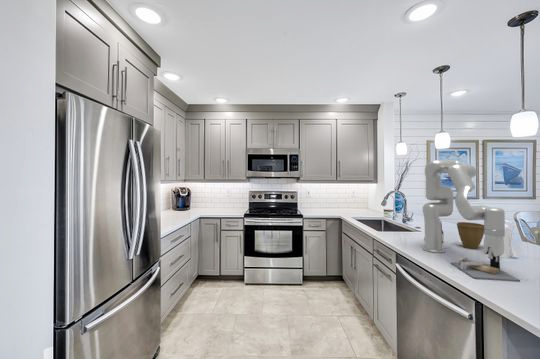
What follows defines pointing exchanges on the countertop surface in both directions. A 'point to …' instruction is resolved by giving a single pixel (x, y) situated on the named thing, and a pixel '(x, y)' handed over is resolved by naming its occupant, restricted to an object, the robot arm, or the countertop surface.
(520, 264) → the countertop surface
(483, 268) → the oak link
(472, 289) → the countertop surface
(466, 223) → the plant pot
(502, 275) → the charcoal mat
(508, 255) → the white bottle
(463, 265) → the steel keeper
